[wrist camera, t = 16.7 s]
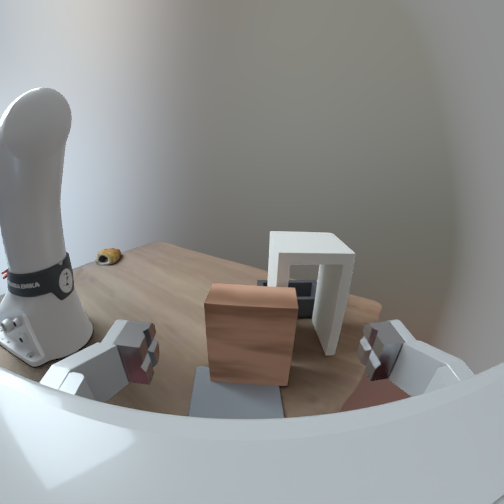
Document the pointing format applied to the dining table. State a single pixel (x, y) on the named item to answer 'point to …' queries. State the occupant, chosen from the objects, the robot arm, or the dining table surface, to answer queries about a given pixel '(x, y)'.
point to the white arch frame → (329, 277)
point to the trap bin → (301, 295)
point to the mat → (233, 399)
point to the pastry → (108, 256)
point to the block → (250, 333)
